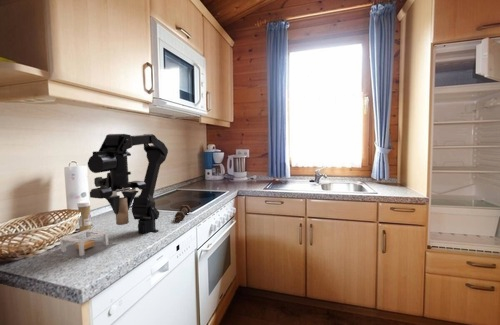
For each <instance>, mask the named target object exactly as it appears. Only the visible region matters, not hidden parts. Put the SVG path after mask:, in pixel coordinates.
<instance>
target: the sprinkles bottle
mask: <svg viewBox="0 0 500 325" xmlns="http://www.w3.org/2000/svg"><path fill="white" fill-rule="evenodd" d="M76 204H77V205H76V206H77V210H78V211H80V212H81V216H80V219H79V218H78V227H79V232H81V231H84V230H87V229H91V230H92V215H91V201H90V200H80V201H77V203H76Z"/></svg>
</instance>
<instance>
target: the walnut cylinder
mask: <svg viewBox="0 0 500 325" xmlns="http://www.w3.org/2000/svg"><path fill="white" fill-rule="evenodd" d="M129 218H130V217H129V210H128V202H127V198H126V197H124V196H123V197H120V200H119V211H118V214H115V222H116V226H123V225H128V224H129V223H130V221H129Z"/></svg>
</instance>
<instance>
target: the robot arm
mask: <svg viewBox="0 0 500 325" xmlns="http://www.w3.org/2000/svg"><path fill="white" fill-rule="evenodd" d="M149 144H150V145H149ZM151 144H152V145H151ZM139 145H140V146H141V145H143V150H144V152H145V153H146V156H145V157H146V158H147V161H148V163H147V168H146V172H145V175H144V179H143V180H141V181H140V180H132V181H129V175H132V172H131V171H129V168H128V167H129V166H128V157H130V156H131V155H132V154H131V152H129V151H128V150H129V149H131V148H132V147H133V146H139ZM168 154H169V150H168V148H167V146H166V144H165V143H164V142H163V141H161V140H160V139H158V138H157V136H156V135H155V134H152V133H147V134H146V133H145V134H140V135H139V134H138V135H137V134H136V135H131V134H126V133H109V134H107V135H105V138H104V140H103V142H102V144H101V146H100V148H99V150H98V151H92V155H91V156H90V157H89V158H88V160H87V167H88V169H89V171H90V172H92V173H94V174H98V173H99V174H100V173H106V172H107V173H106V177H103V176H96V177H95V178H94V182H93V184H94V187H95V188H91V190H90V191H89V198H92V199H101V200H102V199H105V200H107V202H108V204H109V205H110V207H111V209H112V210H113V213H114V215H116V214H118V211H119V200H120V198H121V196H120V195H118V193H119V192H121V194H122V195H123V197H126V198H127V202H128V211H129V210H130V208H131V213H132V216H133V219H134V220H138V221H137V222H138V224H137V234H141V235H146V234H150V233H152V234H156V233H158V232H159V229H156V220H158V219H159V216H160V211H159V210H158V209H157V208H156V201H155V198H154V194H155V189H156V185H157V179H158V178H159V172H160V168H161V165H162V164H163V163H164V162H165V161H166V159H167V156H168ZM136 189H139V190H141V192H140V194H138V196H136V195H137V193H139V190H136Z"/></svg>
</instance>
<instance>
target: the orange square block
mask: <svg viewBox="0 0 500 325" xmlns="http://www.w3.org/2000/svg"><path fill="white" fill-rule="evenodd" d="M91 240H92V239H91ZM91 240H89V241H86V242H84V250H85V249H87V248H90V247H92V246H94V245H95V241H96V240H95V241H91ZM76 248H77V249H79V243H77V244H76Z"/></svg>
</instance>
